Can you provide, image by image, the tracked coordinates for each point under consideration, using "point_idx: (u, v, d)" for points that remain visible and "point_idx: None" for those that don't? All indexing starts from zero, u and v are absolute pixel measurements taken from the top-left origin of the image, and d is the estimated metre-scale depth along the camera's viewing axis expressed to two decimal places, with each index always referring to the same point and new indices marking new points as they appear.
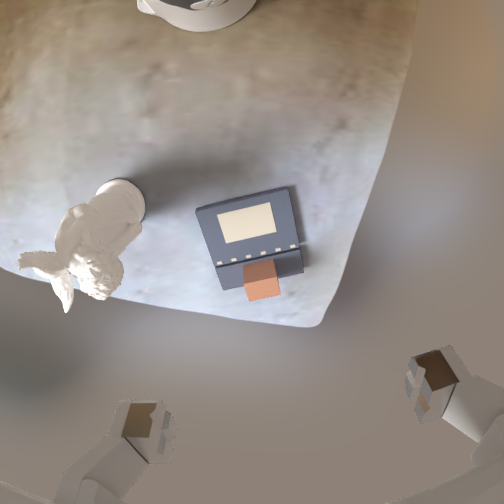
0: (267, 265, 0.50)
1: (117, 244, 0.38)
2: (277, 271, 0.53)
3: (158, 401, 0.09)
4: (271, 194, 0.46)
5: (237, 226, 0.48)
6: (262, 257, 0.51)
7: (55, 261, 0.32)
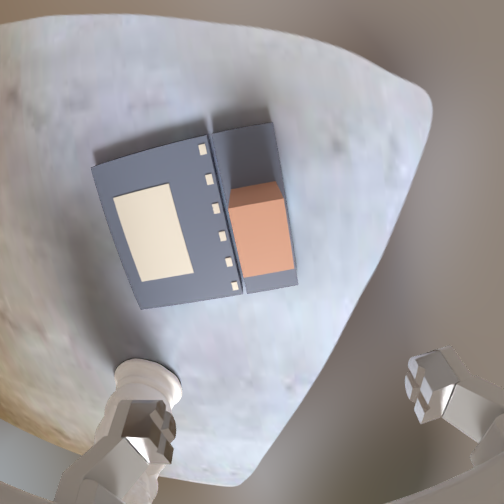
0: None
1: None
2: (264, 180, 0.24)
3: (158, 401, 0.09)
4: (100, 195, 0.24)
5: (160, 252, 0.26)
6: None
7: None
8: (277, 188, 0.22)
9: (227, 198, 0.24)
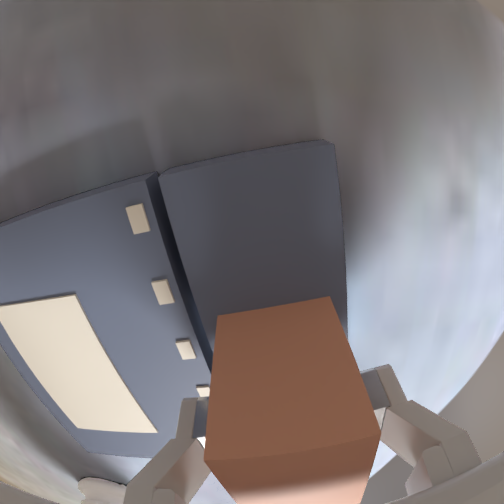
0: None
1: None
2: (301, 295, 0.09)
3: None
4: None
5: (94, 400, 0.12)
6: None
7: None
8: (345, 347, 0.07)
9: (210, 333, 0.10)
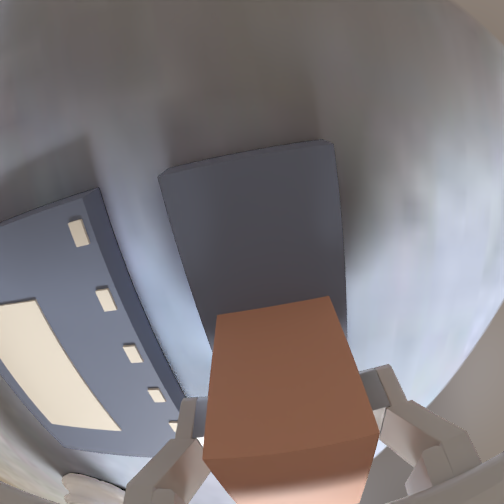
0: None
1: None
2: (300, 295, 0.09)
3: None
4: None
5: (62, 398, 0.12)
6: None
7: None
8: (344, 346, 0.07)
9: (210, 332, 0.10)
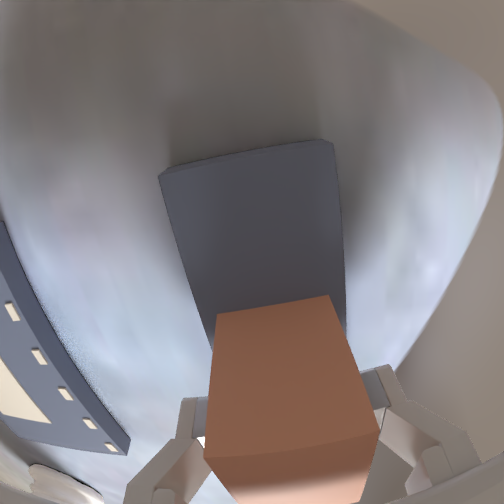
0: None
1: None
2: (300, 294, 0.10)
3: None
4: None
5: (4, 391, 0.12)
6: None
7: None
8: (344, 345, 0.07)
9: (210, 331, 0.10)
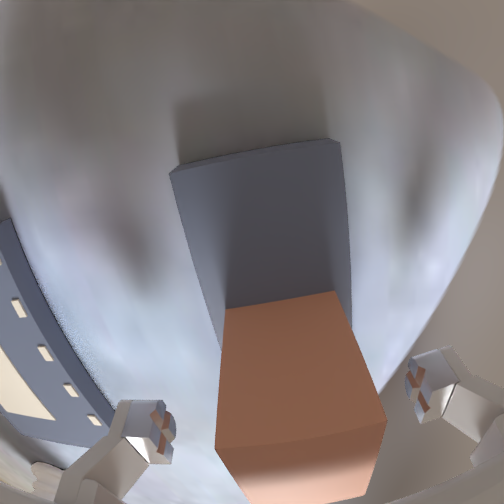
0: None
1: None
2: (307, 289, 0.10)
3: (158, 401, 0.09)
4: None
5: (9, 388, 0.13)
6: None
7: None
8: (351, 338, 0.08)
9: (218, 327, 0.10)
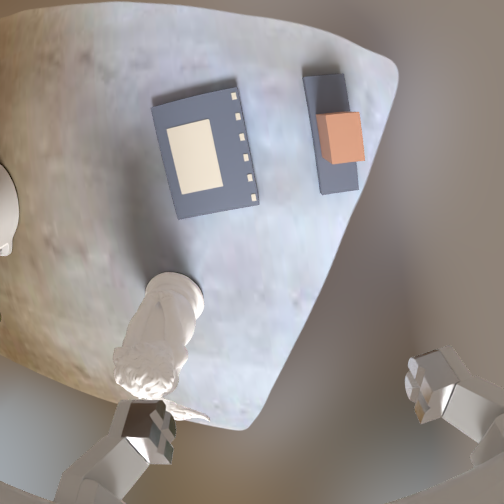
0: (319, 124, 0.31)
1: (165, 328, 0.34)
2: (337, 110, 0.32)
3: (158, 401, 0.09)
4: (156, 127, 0.33)
5: (199, 170, 0.35)
6: (312, 128, 0.33)
7: None
8: None
9: (313, 120, 0.33)
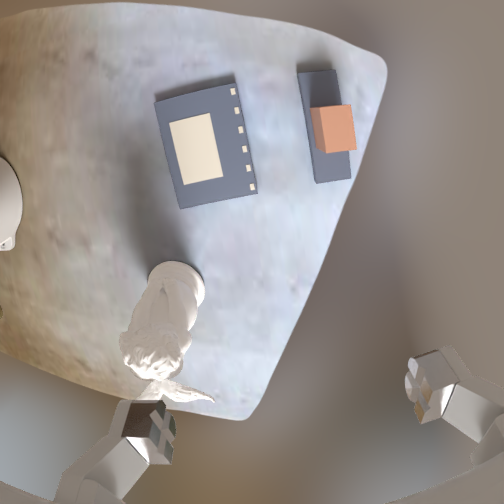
0: (313, 116, 0.33)
1: (169, 312, 0.35)
2: (330, 104, 0.34)
3: (158, 401, 0.09)
4: (159, 121, 0.35)
5: (200, 161, 0.37)
6: (307, 121, 0.35)
7: None
8: None
9: (307, 113, 0.35)
